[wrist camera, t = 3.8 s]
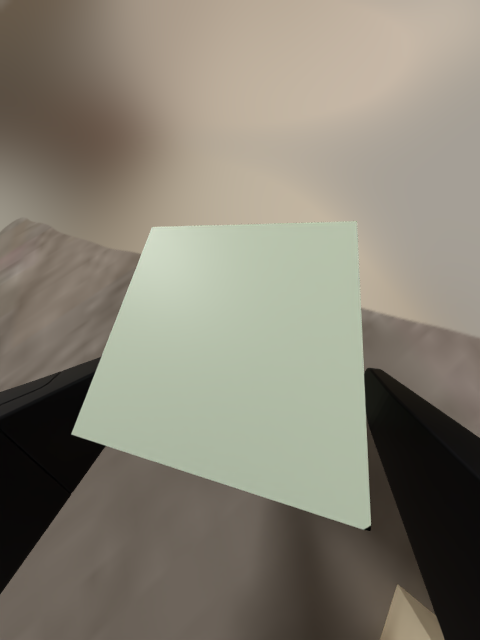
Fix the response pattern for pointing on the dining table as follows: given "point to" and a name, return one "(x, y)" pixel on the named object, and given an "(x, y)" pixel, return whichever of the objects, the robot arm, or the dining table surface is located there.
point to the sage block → (243, 364)
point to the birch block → (410, 620)
